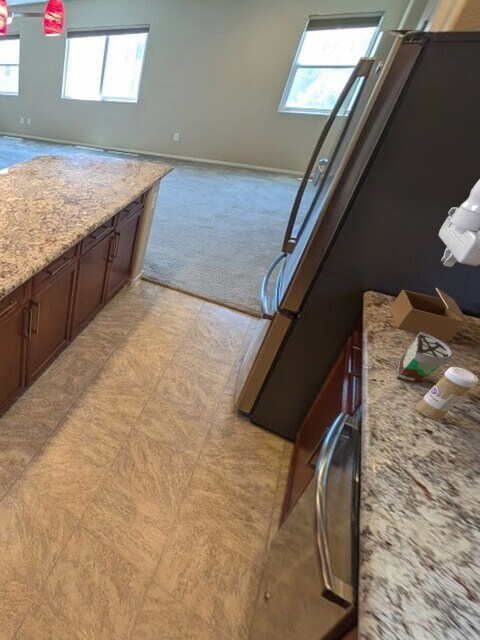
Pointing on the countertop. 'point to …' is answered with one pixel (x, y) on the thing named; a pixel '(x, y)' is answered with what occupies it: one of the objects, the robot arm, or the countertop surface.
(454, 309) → the flap
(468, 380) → the sprinkles bottle
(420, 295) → the carton
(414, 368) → the food container
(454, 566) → the countertop surface
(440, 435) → the countertop surface
